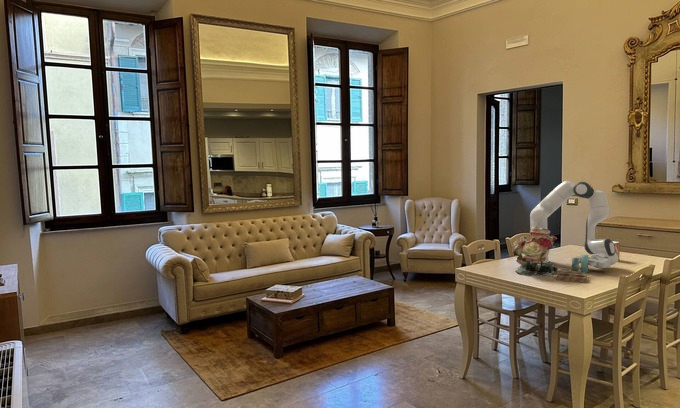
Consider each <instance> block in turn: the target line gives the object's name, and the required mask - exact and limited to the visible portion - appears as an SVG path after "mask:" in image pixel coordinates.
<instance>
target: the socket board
mask: <svg viewBox="0 0 680 408" xmlns="http://www.w3.org/2000/svg"><path fill="white" fill-rule="evenodd" d="M556 280H557V281H565V282H573V283H574V282H575V283H586V284H587V283H588V274H584V273H583V274H571V273H560V272H559V271H558V272H557V274H556Z"/></svg>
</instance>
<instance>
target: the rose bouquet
mask: <svg viewBox="0 0 680 408" xmlns="http://www.w3.org/2000/svg"><path fill="white" fill-rule="evenodd" d="M531 230H532V231H531ZM528 236H529V238H530V240H526V238H525V237H524V236H521V237H519V238H516V239H514V242H512V243H513V244H512V245H510V248H511V249H512V250H511V253H512V254H513V256H514V257H516V258H517V260H516V259H515V261H516V263H518V264H519V265H520V266H518V268H516V269H517V270H515V272H517V273H518V274H519V275H520V276H540V277H541V276H542V277H545V276H555V275H554V273H555V271H559V268H558V267H557V266H555V265H554V261H553V262H552V263H551V262H550V263H545V264H543V261H545V260H546V257H547V255H548V256H549V254H550V249H551V248H553V249H555V248H556V246H555V245H553V244H554V243H555V241H556V240H557V239H558V238H557V236H554V235H551V230H549V229H548V228H547V229H543V228H540V227H538V226H535V227H533V228H531V227H530V231H529V234H528ZM521 260H522V261H521ZM526 260H527V261H526ZM539 262H541V263H539Z"/></svg>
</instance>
